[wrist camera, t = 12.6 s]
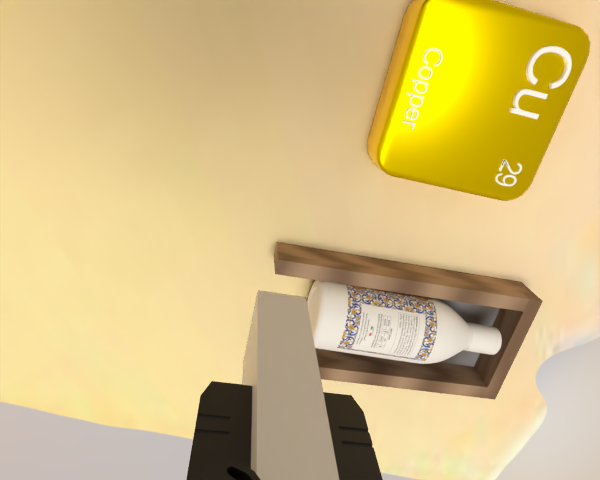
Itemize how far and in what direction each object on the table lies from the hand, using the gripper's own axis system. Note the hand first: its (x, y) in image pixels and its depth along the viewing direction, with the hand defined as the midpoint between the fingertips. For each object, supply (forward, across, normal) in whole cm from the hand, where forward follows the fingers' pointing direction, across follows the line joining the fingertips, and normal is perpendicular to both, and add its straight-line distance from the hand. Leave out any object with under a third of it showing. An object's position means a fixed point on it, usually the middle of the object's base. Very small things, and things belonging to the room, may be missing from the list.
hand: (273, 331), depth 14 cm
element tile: (+30, +17, +7) cm, 35 cm away
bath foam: (+25, +7, -14) cm, 30 cm away
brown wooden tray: (+29, +17, -16) cm, 37 cm away
